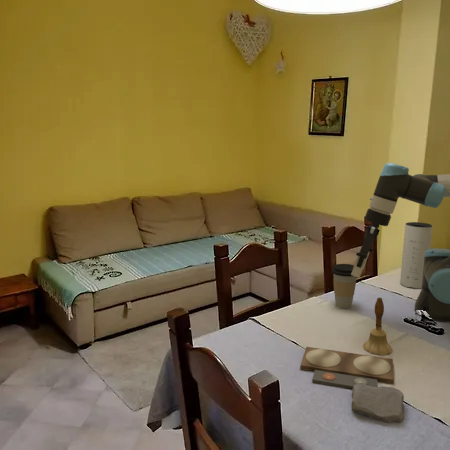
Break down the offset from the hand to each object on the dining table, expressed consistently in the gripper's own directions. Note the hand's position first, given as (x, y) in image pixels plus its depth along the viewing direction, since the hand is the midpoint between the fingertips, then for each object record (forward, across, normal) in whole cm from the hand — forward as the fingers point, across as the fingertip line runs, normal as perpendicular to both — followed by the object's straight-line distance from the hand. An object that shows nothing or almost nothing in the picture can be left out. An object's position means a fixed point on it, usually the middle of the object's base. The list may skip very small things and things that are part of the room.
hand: (357, 272), depth 147 cm
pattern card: (+21, +36, +8) cm, 42 cm away
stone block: (+20, +44, +16) cm, 51 cm away
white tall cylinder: (+7, -48, +22) cm, 53 cm away
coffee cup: (+17, -15, -1) cm, 23 cm away
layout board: (+20, +27, +7) cm, 34 cm away
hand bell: (+17, +14, +13) cm, 26 cm away
